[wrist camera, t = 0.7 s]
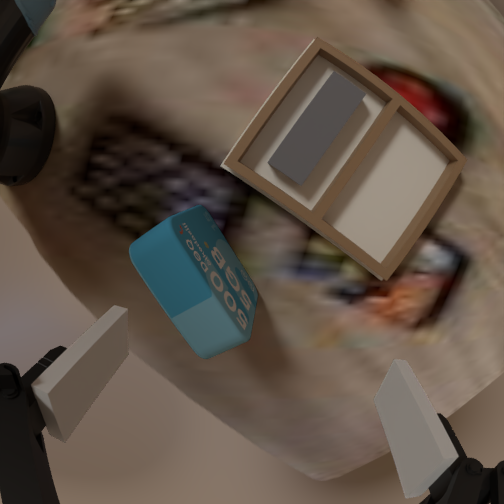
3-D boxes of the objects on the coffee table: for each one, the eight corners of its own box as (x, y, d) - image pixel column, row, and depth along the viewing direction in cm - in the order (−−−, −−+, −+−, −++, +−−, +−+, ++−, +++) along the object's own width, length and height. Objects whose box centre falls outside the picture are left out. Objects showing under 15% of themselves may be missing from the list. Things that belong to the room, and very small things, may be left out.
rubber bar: (268, 163, 30) (267, 162, 28) (330, 76, 27) (333, 70, 25) (299, 185, 31) (301, 185, 29) (361, 98, 28) (366, 93, 26)
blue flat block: (259, 291, 35) (250, 347, 23) (227, 308, 36) (205, 367, 24) (203, 202, 33) (163, 218, 21) (171, 223, 34) (121, 248, 22)
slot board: (221, 166, 32) (216, 165, 29) (313, 41, 27) (315, 31, 24) (379, 278, 33) (386, 287, 31) (459, 159, 29) (471, 159, 26)
